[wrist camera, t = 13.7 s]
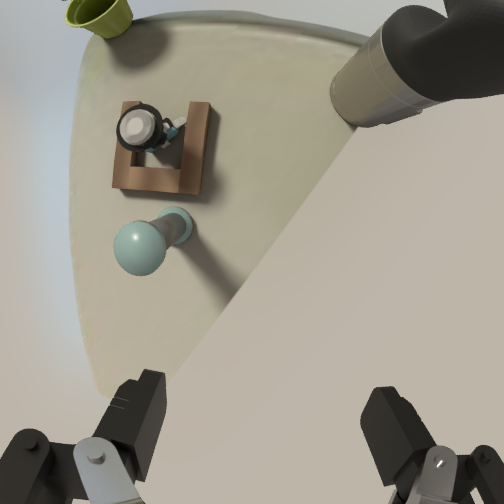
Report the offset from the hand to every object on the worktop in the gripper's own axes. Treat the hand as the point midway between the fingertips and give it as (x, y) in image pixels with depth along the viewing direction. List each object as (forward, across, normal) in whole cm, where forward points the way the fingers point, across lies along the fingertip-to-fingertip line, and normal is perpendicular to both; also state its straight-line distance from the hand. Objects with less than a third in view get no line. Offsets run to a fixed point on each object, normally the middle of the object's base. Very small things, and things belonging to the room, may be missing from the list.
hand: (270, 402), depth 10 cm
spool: (+30, +11, 0) cm, 32 cm away
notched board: (+30, +14, -11) cm, 35 cm away
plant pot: (+30, +26, -32) cm, 51 cm away
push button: (+30, +14, -13) cm, 36 cm away
